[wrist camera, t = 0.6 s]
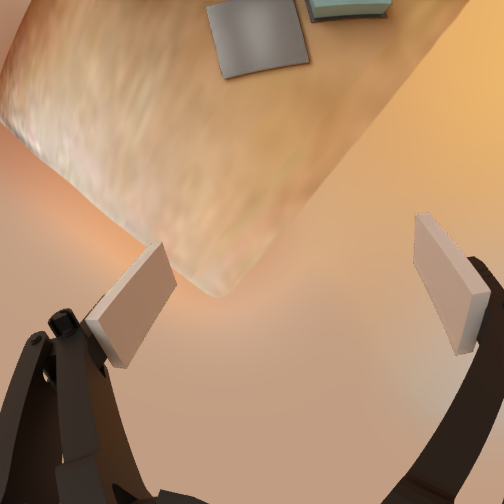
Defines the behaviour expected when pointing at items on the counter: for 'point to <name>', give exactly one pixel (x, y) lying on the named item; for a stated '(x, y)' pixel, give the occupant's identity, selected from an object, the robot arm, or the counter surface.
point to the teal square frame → (348, 7)
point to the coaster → (256, 35)
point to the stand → (341, 16)
